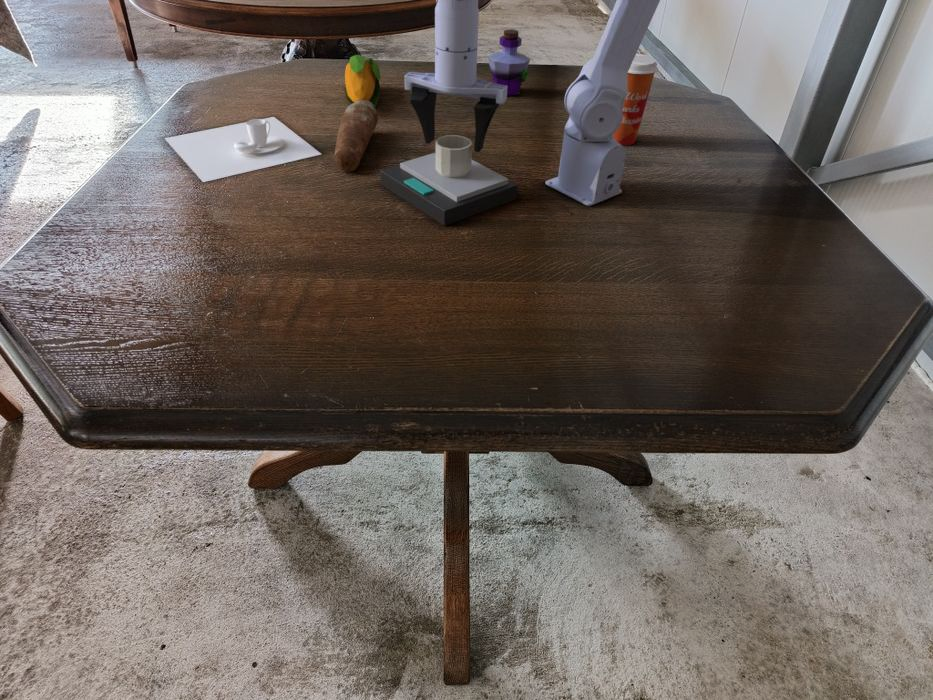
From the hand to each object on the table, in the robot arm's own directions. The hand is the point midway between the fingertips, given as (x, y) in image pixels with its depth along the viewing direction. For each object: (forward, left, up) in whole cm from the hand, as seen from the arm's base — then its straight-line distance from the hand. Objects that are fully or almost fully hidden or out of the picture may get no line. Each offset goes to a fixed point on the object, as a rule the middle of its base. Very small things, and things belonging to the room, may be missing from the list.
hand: (454, 145), depth 92 cm
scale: (0, +1, -7) cm, 7 cm away
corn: (+41, -10, -7) cm, 43 cm away
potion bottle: (+29, -38, -7) cm, 48 cm away
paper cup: (-2, -38, -7) cm, 39 cm away
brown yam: (+21, +4, -7) cm, 23 cm away
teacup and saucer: (+34, +19, -7) cm, 40 cm away
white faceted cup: (0, 0, -4) cm, 4 cm away
